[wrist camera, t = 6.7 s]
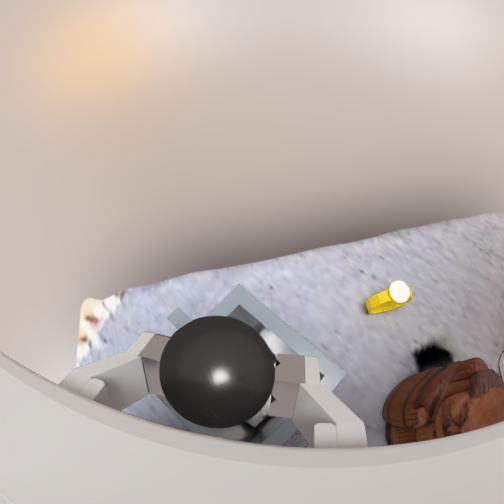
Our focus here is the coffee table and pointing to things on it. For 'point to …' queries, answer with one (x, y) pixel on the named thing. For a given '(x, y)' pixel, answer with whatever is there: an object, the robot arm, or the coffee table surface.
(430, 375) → the wooden figurine
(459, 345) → the coffee table surface
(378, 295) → the watch
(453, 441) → the robot arm
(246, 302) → the frother jug
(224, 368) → the plunger
